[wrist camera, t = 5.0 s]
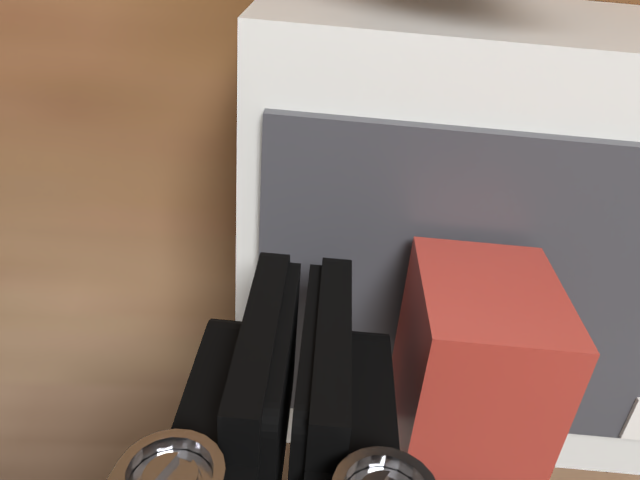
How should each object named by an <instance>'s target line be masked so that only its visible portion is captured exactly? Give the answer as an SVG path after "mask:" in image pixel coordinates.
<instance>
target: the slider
mask: <svg viewBox="0 0 640 480" xmlns="http://www.w3.org/2000/svg"><path fill="white" fill-rule="evenodd" d="M599 356H600V353H599V352H598V350H597V348H596V346H595V344H594V342H593V341H592V339H591V337H590V335H589V333H588V332H587V330H586V328H585V326H584V324H583V322H582V321H581V319H580V317H579V315H578V313H577V311H576V310H575V308H574V306H573V304H572V302H571V300H570V299H569V297H568V295H567V293H566V291H565V289H564V288H563V286H562V284H561V282H560V280H559V278H558V277H557V275H556V273H555V271H554V269H553V267H552V266H551V264H550V262H549V260H548V258H547V257H546V255H545V253H544V251H543V249H542V248H536V247H525V246H514V245H503V244H492V243H481V242H470V241H459V240H448V239H437V238H426V237H415V236H414V237H413V243H412V248H411V254H410V260H409V265H408V271H407V276H406V282H405V287H404V293H403V299H402V304H401V310H400V315H399V321H398V326H397V332H396V338H395V343H394V349H393V354H392V363H393V375H394V386H395V398H396V409H397V421H398V432H399V444H400V450H401V451H404V452H406V453H409V454H410V455H412V456H413V457H415V458H416V459H418V460H419V461H421V462H422V463H423V464H424V465H425V466H426V467H427V468H428V469H429V470H430V472H431V473H432V474H433V476H434V478H435V480H549V479H550V477H551V474H552V472H553V469H554V467H555V464H556V462H557V460H558V457H559V455H560V452H561V450H562V447H563V445H564V442H565V440H566V437H567V435H568V432H569V430H570V427H571V425H572V423H573V420H574V418H575V415H576V413H577V410H578V408H579V405H580V403H581V400H582V398H583V395H584V393H585V390H586V388H587V386H588V383H589V381H590V378H591V376H592V373H593V371H594V368H595V366H596V363H597V361H598V358H599Z"/></svg>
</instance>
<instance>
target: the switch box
mask: <svg viewBox="0 0 640 480" xmlns="http://www.w3.org/2000/svg"><path fill="white" fill-rule="evenodd" d="M414 236H415V237H426V238H437V239H448V240H459V241H470V242H481V243H492V244H503V245H514V246H525V247H536V248H542V249H543V251H544V253H545V255H546V257H547V258H548V260H549V262H550V264H551V266H552V267H553V269H554V271H555V273H556V275H557V277H558V278H559V280H560V282H561V284H562V286H563V288H564V289H565V291H566V293H567V295H568V297H569V299H570V300H571V302H572V304H573V306H574V308H575V310H576V311H577V313H578V315H579V317H580V319H581V321H582V322H583V324H584V326H585V328H586V330H587V332H588V333H589V335H590V337H591V339H592V341H593V342H594V344H595V346H596V348H597V350H598V352H599V353H600V356H599V358H598V361H597V363H596V366H595V368H594V371H593V373H592V376H591V378H590V381H589V383H588V386H587V388H586V390H585V393H584V395H583V398H582V400H581V403H580V405H579V408H578V410H577V413H576V415H575V418H574V420H573V423H572V425H571V427H570V430H569V432H568V435H567V437H566V440H565V442H564V445H563V447H562V450H561V452H560V455H559V457H558V460H557V462H556V464H555V467H559V468H570V469H581V470H592V471H603V472H614V473H625V474H636V475H640V5H632V4H621V3H610V2H599V1H587V0H254V1H253V2H252V4H251V5H250V6H249V7H248V8H247V9H246V10H245V11H244V12H243V13H242V14H241V15H240V16H239V17H238V56H237V179H236V303H235V321H242V320H243V316H244V312H245V308H246V304H247V301H248V297H249V293H250V289H251V285H252V282H253V278H254V274H255V270H256V266H257V262H258V259H259V255H260V253H261V252H265V253H277V254H289V255H290V262H291V263H301V274H300V290H299V305H298V320H297V335H296V351H295V366H294V380H293V390H292V399H291V407H290V415H289V423H288V431H287V440H286V443H291V429H292V418H293V408H294V400H295V391H296V382H297V374H298V365H299V356H300V348H301V339H302V331H303V322H304V313H305V305H306V296H307V288H308V279H309V270H310V264H314V265H322V258H323V257H324V258H335V259H347V260H352V331H358V332H370V333H382V334H389V336H390V341H391V352H392V354H393V349H394V343H395V338H396V332H397V326H398V321H399V315H400V310H401V304H402V299H403V293H404V287H405V282H406V276H407V271H408V265H409V260H410V254H411V248H412V243H413V237H414Z"/></svg>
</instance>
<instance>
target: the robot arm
mask: <svg viewBox="0 0 640 480" xmlns="http://www.w3.org/2000/svg"><path fill="white" fill-rule="evenodd" d="M300 274H301V263H291V262H290V255H289V254H277V253H265V252H261V253H260V255H259V259H258V262H257V266H256V270H255V274H254V278H253V282H252V285H251V289H250V293H249V297H248V301H247V304H246V308H245V312H244V316H243V320H242V321H231V320H219V319H210V320H209V322H208V324H207V326H206V329H205V332H204V335H203V338H202V341H201V344H200V347H199V349H198V352H197V355H196V358H195V361H194V364H193V367H192V370H191V373H190V376H189V379H188V381H187V384H186V387H185V390H184V393H183V396H182V399H181V402H180V405H179V408H178V411H177V413H176V416H175V419H174V422H173V425H172V428H171V429H169V430H163V431H158V432H155V433H153V434H150V435H148V436H145V437H143V438H141V439H140V440H138V441H137V442H136V443H134V444H133V445H131V446H130V447H129V448H128V449H127V450H126V451H125V453H124V454H123V455H122V456H121V457H120V459H119V460H118V461H117V463H116V465H115V466H114V468H113V470H112V471H111V473H110V475H109V476H108V478H107V479H106V480H282V472H283V464H284V456H285V448H286V440H287V431H288V423H289V415H290V407H291V399H292V390H293V380H294V366H295V351H296V335H297V320H298V305H299V290H300ZM288 480H435V478H434V476H433V474H432V473H431V472H430V470H429V469H428V468H427V467H426V466H425V465H424V464H423V463H422V462H421V461H419V460H418V459H416V458H415V457H413V456H412V455H410V454H409V453H406V452H404V451H401V450H400V444H399V432H398V421H397V409H396V398H395V386H394V375H393V363H392V352H391V341H390V336H389V334H382V333H370V332H358V331H352V260H347V259H335V258H324V257H323V258H322V265H314V264H310V270H309V279H308V288H307V296H306V305H305V313H304V322H303V331H302V339H301V348H300V356H299V365H298V374H297V382H296V391H295V400H294V408H293V418H292V429H291V443H290V458H289V473H288Z"/></svg>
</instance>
